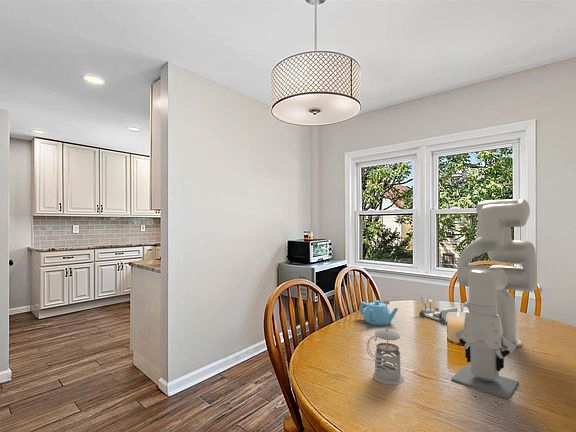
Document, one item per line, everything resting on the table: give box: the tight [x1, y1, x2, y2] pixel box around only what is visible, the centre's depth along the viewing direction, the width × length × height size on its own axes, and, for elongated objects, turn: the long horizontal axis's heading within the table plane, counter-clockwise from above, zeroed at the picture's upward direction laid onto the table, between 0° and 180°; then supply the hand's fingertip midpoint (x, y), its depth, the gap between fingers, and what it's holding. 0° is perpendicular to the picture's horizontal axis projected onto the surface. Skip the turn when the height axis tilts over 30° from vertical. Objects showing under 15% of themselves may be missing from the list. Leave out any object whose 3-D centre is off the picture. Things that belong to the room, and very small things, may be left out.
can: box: [469, 340, 500, 381], centre depth 97 cm, size 8×8×12 cm
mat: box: [451, 365, 519, 401], centre depth 97 cm, size 13×15×1 cm
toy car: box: [418, 296, 458, 325], centre depth 162 cm, size 18×10×12 cm
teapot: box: [358, 299, 399, 327], centre depth 156 cm, size 15×15×11 cm
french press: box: [366, 299, 405, 386], centre depth 101 cm, size 10×12×25 cm
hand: (484, 364), depth 97 cm, fingers closed on can, 7 cm apart
